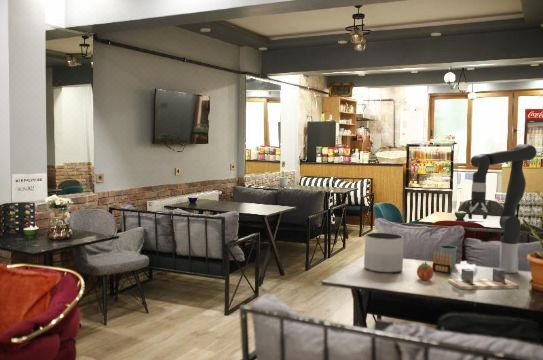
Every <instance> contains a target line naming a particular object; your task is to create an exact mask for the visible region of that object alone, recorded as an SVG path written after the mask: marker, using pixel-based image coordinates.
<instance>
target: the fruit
mask: <svg viewBox="0 0 543 360" xmlns="http://www.w3.org/2000/svg"><path fill="white" fill-rule="evenodd" d="M416 274H417V277H418V279H420V280H422V281H430V280H431V279H432V278H433V276H434V272H433V269H432V266H431V265H430V264H428V263H427V261H424V263H421V264H419V266H418V267H417V270H416Z"/></svg>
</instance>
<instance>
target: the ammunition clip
mask: <svg viewBox="0 0 543 360" xmlns="http://www.w3.org/2000/svg"><path fill="white" fill-rule="evenodd" d="M431 267H432V269H433V273H438V274H446V275H452V268H451V253H450V255H449V261H448V253H447V254H446V260H445V253H443V259H442V252H441V253H440V251H437V252H436V251H434V252H433V258H432V266H431Z"/></svg>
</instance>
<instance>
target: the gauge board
mask: <svg viewBox="0 0 543 360" xmlns="http://www.w3.org/2000/svg"><path fill="white" fill-rule="evenodd" d="M447 283H450V285H453V286H455V287H456V288H458V289H460V290H487V289H488V290H490V289H491V290H493V289H494V290H495V289H519V288H520V284H517V283H515V282H513V281H510V280H508V279H506V273H505V270H503V269H501V268H499V267H497V268H496V267H494V268H492V277H491V278H473V283H470V282H465V281H463V280H461V278H448V280H447Z"/></svg>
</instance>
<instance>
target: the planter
mask: <svg viewBox="0 0 543 360" xmlns="http://www.w3.org/2000/svg"><path fill="white" fill-rule="evenodd" d="M364 238H365V239H364V240H365V241H364V255H363V256H364V260H363V267H364V268H365V269H366V270H367V271H369V272H373V273H377V274H378V273H379V274H396V273H399V272H401V271H402V270H403V266H404V265H403V263H404V262H403V261H404V236H402V235H401V234H398V233H397V234H396V233H390V232H369V233H366V234H365V236H364Z"/></svg>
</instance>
